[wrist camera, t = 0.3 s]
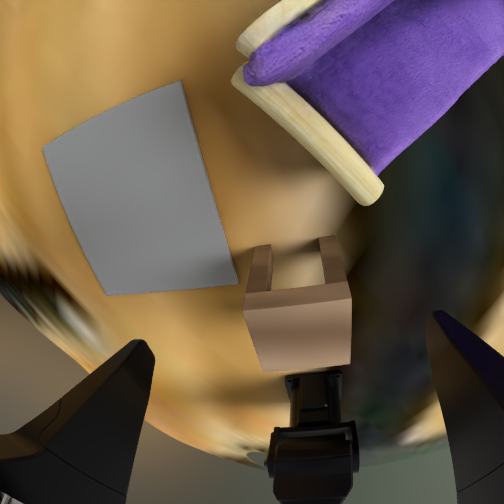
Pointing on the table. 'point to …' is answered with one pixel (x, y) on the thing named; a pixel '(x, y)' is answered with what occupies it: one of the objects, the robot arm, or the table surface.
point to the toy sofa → (365, 74)
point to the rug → (142, 197)
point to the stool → (299, 315)
